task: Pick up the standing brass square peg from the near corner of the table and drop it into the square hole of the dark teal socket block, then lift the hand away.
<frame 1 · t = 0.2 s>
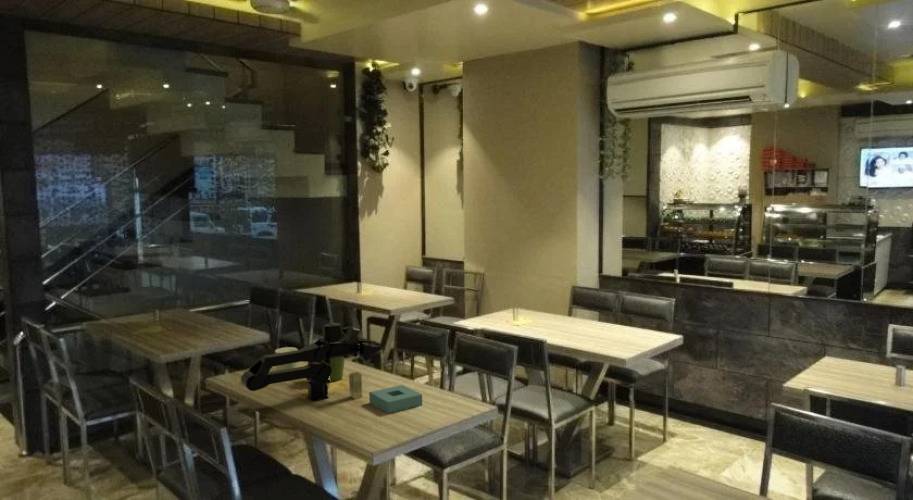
hand: (376, 344, 257), 16 cm above the table, tool horizontal, fingers open, 9 cm apart
socket block: (395, 403, 237), on the table
can: (287, 377, 272), on the table
peg: (355, 396, 245), on the table
plant pot: (333, 379, 268), on the table
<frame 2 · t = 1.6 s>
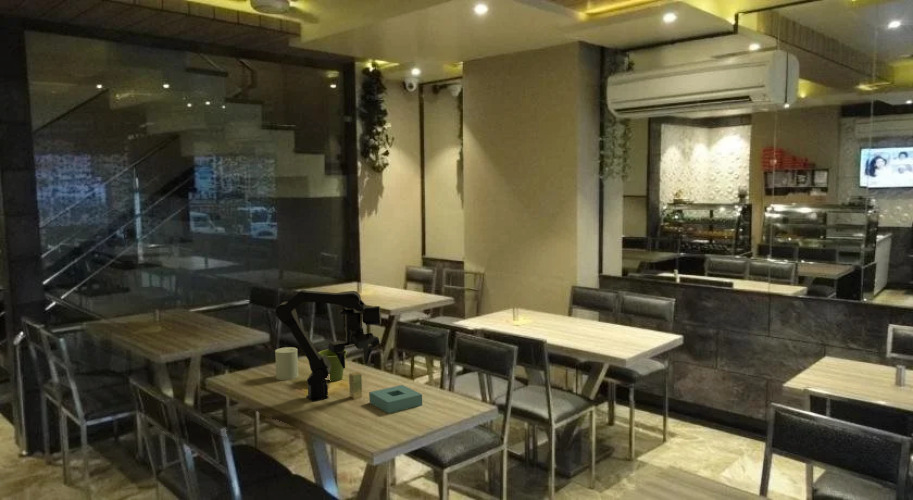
hand: (355, 366, 244), 12 cm above the table, tool pointing down, fingers open, 9 cm apart
nothing on the table moved.
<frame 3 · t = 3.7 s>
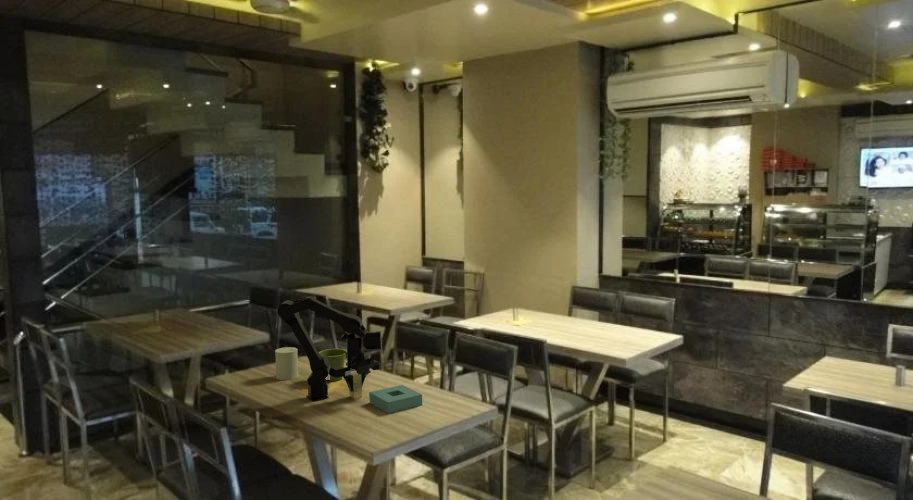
hand: (355, 390, 245), 3 cm above the table, tool pointing down, fingers closed on peg, 3 cm apart
peg: (355, 396, 245), on the table, touching gripper
everything else where it was.
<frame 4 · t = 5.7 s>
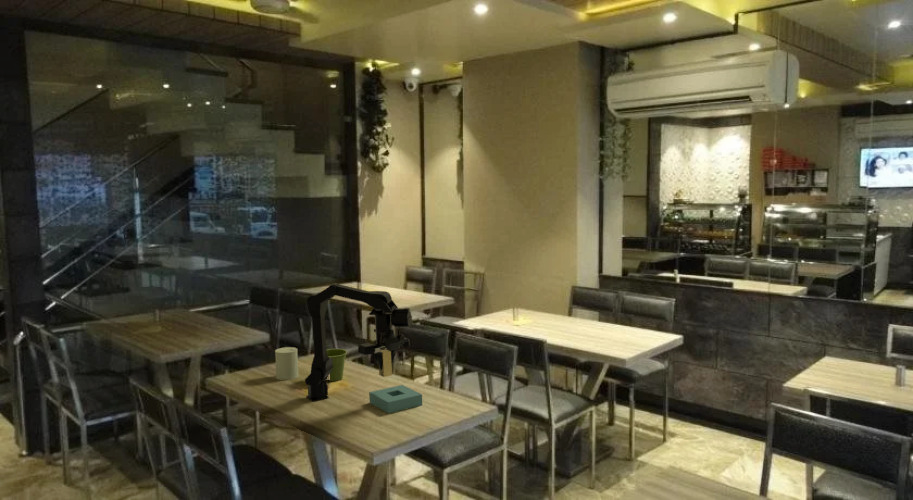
hand: (385, 368, 238), 13 cm above the table, tool pointing down, fingers closed on peg, 3 cm apart
peg: (385, 375, 238), point 10 cm above the table, touching gripper
everything else where it was.
when the fingers open (4 cm above the table, at t = 7.9 s): peg drops 2 cm, resting in socket block.
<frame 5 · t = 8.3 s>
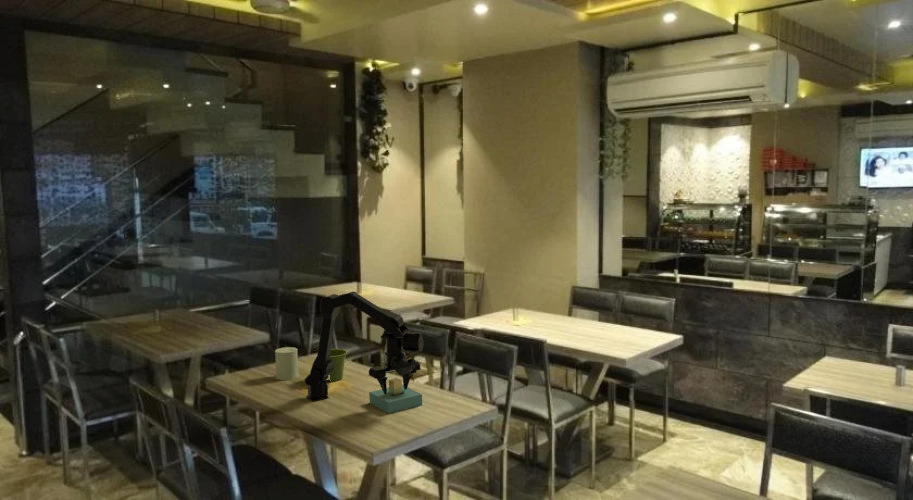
hand: (395, 391, 236), 4 cm above the table, tool pointing down, fingers open, 8 cm apart
peg: (395, 403, 237), resting in socket block
everything else where it was.
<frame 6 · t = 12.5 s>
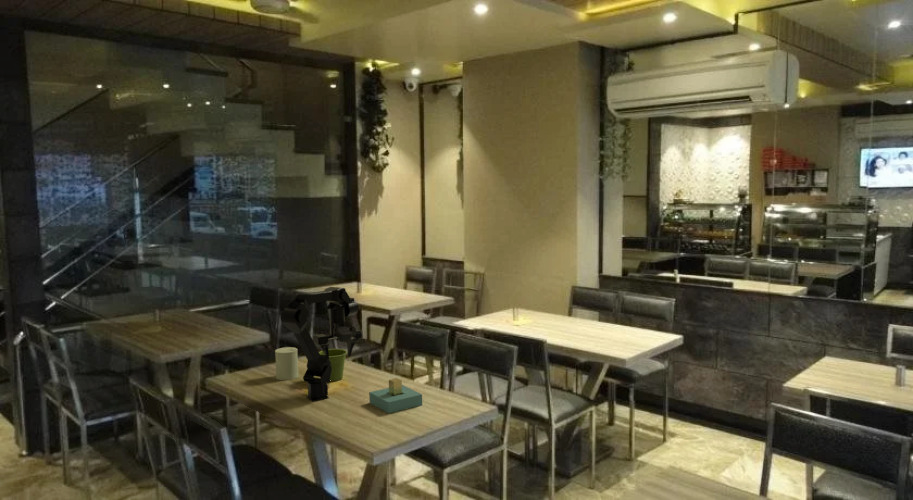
hand: (338, 358, 255), 12 cm above the table, tool pointing down, fingers open, 9 cm apart
nothing on the table moved.
at the end: peg 0.1 cm off-centre on the socket block, point 0.0 cm above the socket block's base; peg tilted 0°; the gripper is holding nothing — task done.
